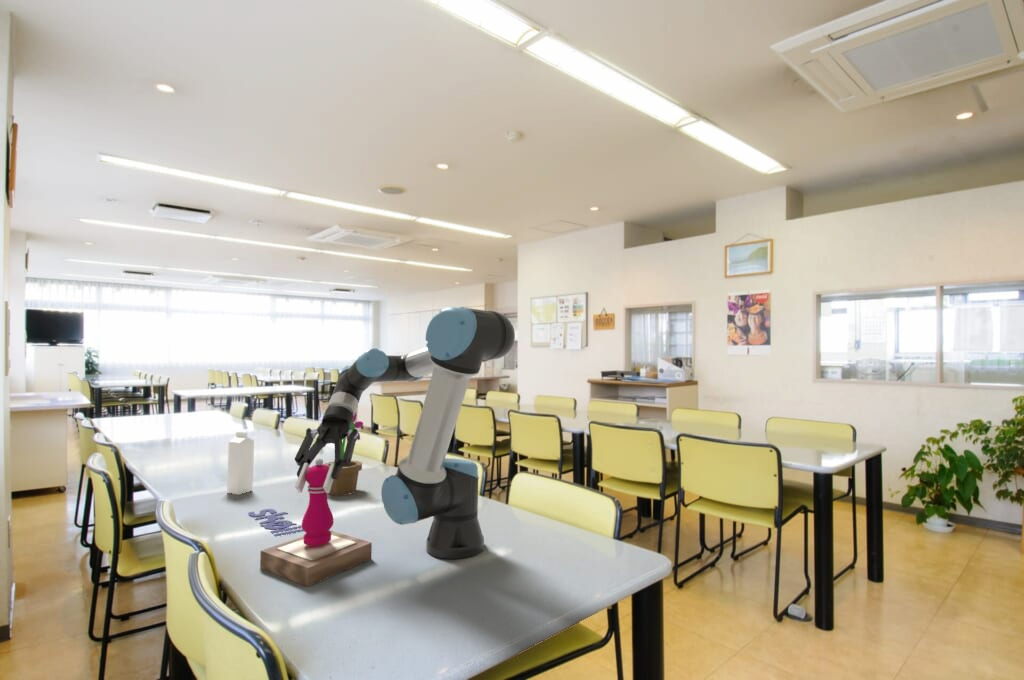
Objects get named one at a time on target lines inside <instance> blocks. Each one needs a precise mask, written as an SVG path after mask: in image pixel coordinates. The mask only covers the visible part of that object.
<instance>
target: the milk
mask: <svg viewBox="0 0 1024 680" xmlns="http://www.w3.org/2000/svg"><path fill="white" fill-rule="evenodd" d="M254 445H255V440H254V439H251V438H250V437H249V436H248V433H247V432H241V431H240V432H239V431H236V433H235V436H234V437H233V438H231V440H229V441H228V453H227V454H228V455H227V456H228V457H227V461H228V462H227V487H226V488H227V491H226V492H227V494H231V493H232V494H231V495H236V494H237V496H240V495H243V494H246V492H247V493H251V492H253V488H254V487H253V485H254V451H255V449H254V448H255V446H254ZM250 491H251V492H250ZM242 493H243V494H242Z"/></svg>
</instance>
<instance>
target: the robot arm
mask: <svg viewBox="0 0 1024 680" xmlns="http://www.w3.org/2000/svg"><path fill="white" fill-rule="evenodd" d="M515 337H516V333H515V329H514V326H513V324H512V322H511V321H510V320H509V318H508V317H507V316H505V315H504V314H503V313H501V312H497V311H494V310H484V309H483V310H482V309H478V308H469V307H464V306H458V307H455V306H453V307H451V306H450V307H445V308H443V309H441V310H439V311H437V313H435V314H434V316H433V317H432V318H431V320H430V321H429V323H428V325H427V329H426V332H425V341H426V342H427V343H426V344H425V345H426V347H422V348H420V349H418V350H414V351H412V352H409V353H406V354H403V355H387V354H386V353H385V351H382V350H379V349H378V348H376V347H375V348H369V349H366V351H364V352H363V353H362V354H360V355H359V356H358V357H357V359H356V360H355V362H354V363H352V364H350V365H345V366H344V367H343V368H342V370H341V371H340V373H339V374H338V378H337V380H336V383H335V386H334V389H333V392H332V394H331V397H330V399H329V402H328V404H327V406H326V409H325V412H324V414H323V417H322V419H321V423H320V425H319V426H318V427H317V428H315V429H314V428H313V429H311V428H310V427H308V428H306V430H305V436H304V439H303V440H302V442H301V444H300V446H299V449H298V450H297V453H296V455H295V457H294V461H295V462H296V465H297V466H299V467H298V470H297V472H296V476H297V481H296V483H295V486H294V488H295V489H296V491H297V492H298V493H303V490H304V487H305V486H306V483H307V481H306V473H307V471H308V469H309V468H311V466H310V465H311V464H312V462H313V461H314V460H315V458H316V457H317V456H318V455H319V453H320V452H321V450H322V449H323V448H325V447H326V446H327V444H334V460H333V462H334V461H335V464H334V463H331V465H330V468H329V471H328V474H327V477H326V480H325V482H324V485H323V488H324V490H325V492H326V493H329V492H330V489H331V486H332V483H333V480H334V479H337V478H338V476H339V473H340V470H341V468H342V467H344V466H346V467H348V466H350V463H351V461H352V458H353V454H354V450H355V446H356V442H357V441H358V437H359V434H360V433H359V434H358V432H359V431H358V428H355V429H353V430H350V427H351V424H352V421H353V418H354V415H355V412H356V413H357V408H358V405H359V403H360V399H361V397H362V395H363V393H364V391H366V390H367V389H368V388H369V387H370V386H372V384H373V383H387V382H388V383H391V382H416V381H420V380H422V379H423V378H424V376H428V375H431V374H432V375H431V378H430V381H429V384H428V386H427V387H428V389H427V391H426V395H425V397H424V401H423V405H422V408H421V411H420V416H419V418H418V422H417V425H416V429H415V432H414V434H413V438H412V442H411V445H410V449H409V453H408V456H405V457H403V458H402V459H401V460H400V461H399V464H398V467H397V471H396V473H395V475H394V474H391V475H390V476H388V477H386V478H385V479H383V482H382V485H381V501H382V505H383V507H384V508H383V509H384V511H385V512H386V513H385V514H387V516H388V517H389V519H390V520H391V521H392V522H394V523H395V524H398V525H402V526H404V525H409V524H414V523H415V524H416V523H418V522H419V521H423V520H425V519H429V518H431V517H433V519H432V522H431V526H430V529H429V532H428V535H427V538H426V541H425V542H426V547H425V548H426V550H425V551H426V552H427V553H428V554H429V555H430V556H433V557H435V558H440V559H450V560H451V559H453V560H457V559H465V558H466V559H467V558H470V557H473V556H476V555H478V554H480V553H482V551H484V549H485V538H484V535H483V533H482V532H483V531H482V529H481V524H480V521H479V518H478V516H479V515H478V513H479V510H478V509H479V503H478V502H479V479H480V477H479V469H478V468H479V466H478V465H477V463H475V462H474V461H471V460H467V459H461V458H448V457H447V453H448V450H449V447H450V444H451V440H452V437H453V434H454V431H455V427H456V424H457V422H458V419H459V418H458V417H459V414H460V411H461V409H462V405H463V401H464V399H465V395H466V394H467V393H466V392H467V389H468V385H469V384H470V383H469V382H470V380H471V378H472V377H474V376H476V375H478V374H480V373H479V372H480V369H481V367H482V364H483V363H485V362H488V361H492V360H497V359H501V358H503V357H505V356H506V355H507V354H508V353H509V352H511V350H512V348H513V346H514V345H515V340H516V339H515ZM317 435H318V436H317ZM347 435H348V436H349V437H348V441H347V440H346V445H345V448H344V452H345V453H344V457H343V459H342V442H343V439H344V438H345V437H346V436H347ZM316 436H317V437H316ZM346 438H347V437H346ZM314 439H316V440H315V442H314ZM313 442H314V443H313Z"/></svg>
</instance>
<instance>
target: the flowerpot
mask: <svg viewBox="0 0 1024 680" xmlns="http://www.w3.org/2000/svg"><path fill="white" fill-rule="evenodd" d="M355 421H356V422H355ZM363 425H364V423H363V421H360V420H359V421H357V411H356V412H355V415H354V418H353V421H352V424H351V427H350V430H353V429H359V428H362V427H363ZM358 434H359V437H358V439H357V441H360V440H361V434H360V432H359V431H358ZM348 437H349V436H348V435H347V436H346V437H345V438H344V439H343V440H342V459H343V457H344V453H345V447H346V445H345V444H346V442H347V441H348ZM331 463H334V464H335V461H334V460H333V461H329V462H326V463H323V464H322V465H326V466H328V467H329V468H330V465H331ZM362 469H363V462H361V461H360V460H359V461H358V460H351V463H350V466H348V467H346V466H344V467H342V468H341V470H340V473H339V476H338V478H337V479H334V480H333V483H332V486H331V489H330V492H329V493H328V494H327V495H329V494H330V495H329V496H335V495H339V496H345V495H344V494H348V495H350V494H349V493H352V494H354V493H353V492H355V491H356V492H357V485H358V478H359V471H363V470H362ZM356 492H355V493H356Z"/></svg>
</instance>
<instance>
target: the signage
mask: <svg viewBox="0 0 1024 680" xmlns="http://www.w3.org/2000/svg"><path fill="white" fill-rule="evenodd" d="M268 511H269V513H270V514H268V515H266V514H267V513H268ZM274 513H275V514H274ZM247 514H248V516H249V517H251V518H254V521H259V519H260V520H263V519H264V518H265V519H267V518H268V519H267V520H265V519H264V520H263V521H260V522H259V527H262V528H264V529H265V530H268V531H269V530H270V533H271V534H272V535H273V536H274V535H275V536H274V537H276V536H280V537H282V536H281V535H285V536H288V534H289V535H292V534H291V533H293V534H297V533H296V532H298V533H301V532H300V531H302V532H305V531H304V530H303V529H302V528H301V527H302V525H297V523H296V522H294V523H293V521H291V520H288V519H287V520H285V517H284V515H283V514H285V515H288V514H289V513H288V512H285V511H283V512H282V511H281V512H278V513H277V510H275V509H274V508H267V509H266V508H265V509H262V510H259V513H258V514H256V513H255V511H249V512H248V513H247ZM279 515H280V516H279ZM261 516H262V517H261ZM259 517H260V518H259ZM255 518H256V519H255ZM278 519H280V520H278ZM283 523H285V524H283ZM289 526H290V527H289ZM291 526H292V528H291ZM297 526H298V527H297ZM287 527H288V528H287ZM283 528H284V529H283ZM297 528H299V529H297ZM277 529H279V530H277ZM293 529H294V530H293ZM300 529H301V530H300ZM289 530H290V531H289ZM283 531H285V532H283ZM279 532H281V533H279ZM274 533H276V534H274ZM286 534H287V535H286Z"/></svg>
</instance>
